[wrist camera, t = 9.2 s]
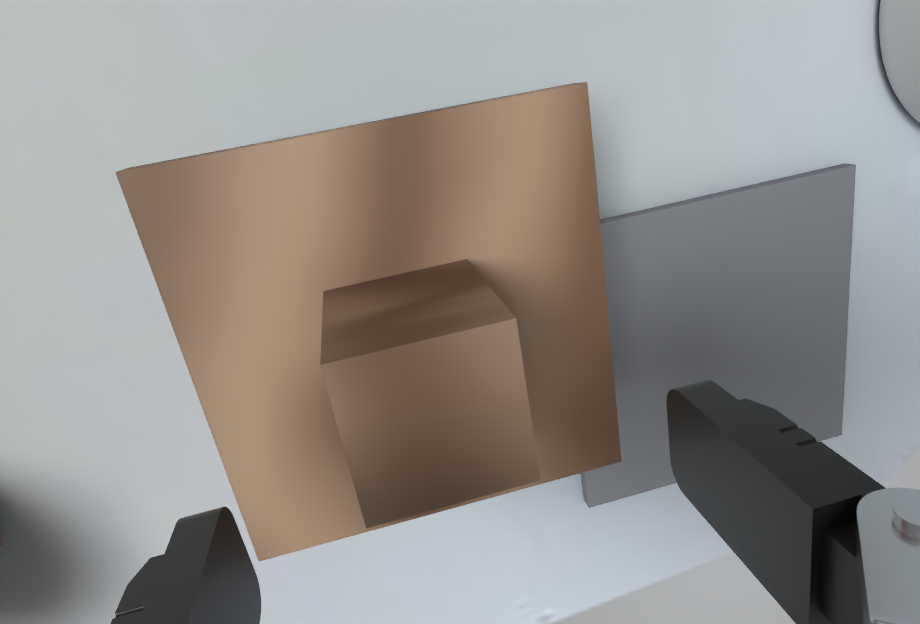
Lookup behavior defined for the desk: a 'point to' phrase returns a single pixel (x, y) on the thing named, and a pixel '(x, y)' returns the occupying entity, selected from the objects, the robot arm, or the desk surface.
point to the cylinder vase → (902, 50)
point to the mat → (727, 312)
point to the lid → (390, 311)
